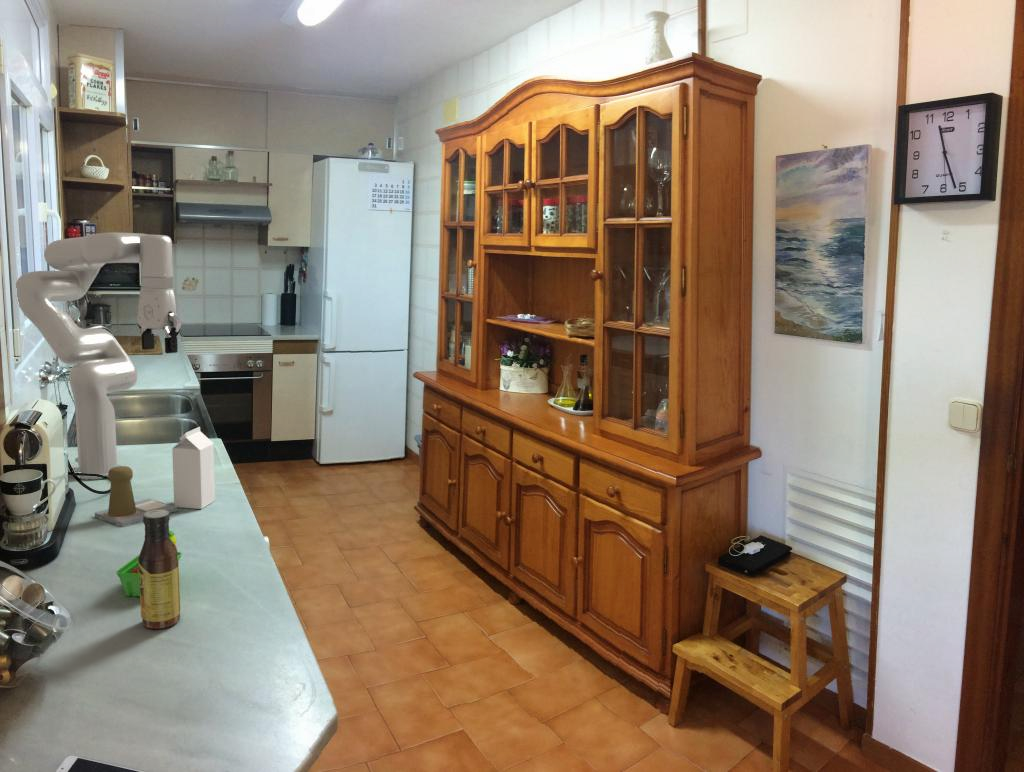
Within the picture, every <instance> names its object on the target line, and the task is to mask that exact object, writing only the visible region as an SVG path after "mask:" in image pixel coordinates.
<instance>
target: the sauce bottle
mask: <svg viewBox="0 0 1024 772" xmlns="http://www.w3.org/2000/svg"><path fill="white" fill-rule="evenodd" d="M169 521H170V513H169V512H168V511H166V510H152V511H149V512H146V513H144V515H143V521H142V523H143V524H144V541H143V544H142V547H141V549H140V553H139V554H140V555H139V554H138V555H139V558H138V568H139V586H140V597H139V603H140V616H141V619H142V625H143V626H144V627H145V628H147V629H153V630H158V629H159V630H160V629H161V628H162V629H167V628H170V627H169V626H171V627H172V626H174V625H175V624H177V623H178V622H180V619H181V610H182V609H181V589H180V588H181V585H180V565H179V564H180V563H178V553H177V552H178V548H177V545H176V546H175V544H174V543H173V542H172V541H171V539H170V538H169V536H170V533H169V530H170V523H169ZM166 627H167V628H166Z"/></svg>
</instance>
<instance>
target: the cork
mask: <svg viewBox="0 0 1024 772" xmlns="http://www.w3.org/2000/svg"><path fill="white" fill-rule="evenodd" d="M133 473H134V471H133V469H132V468H131V467H130V466H126V465H121V466H118V467H113V468H111V469H110V470H109V472H108V478H107V479H108V481H110V490H109V491H110V492H109V501H108V508H107V509H108V515H109V516H112V517H123V516H129V515H132V514H134V513H136V506H135V502H136V501H135V497H134V492H133V485H132V483H131V482H132V481H131V480H133V476H134V475H133Z"/></svg>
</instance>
